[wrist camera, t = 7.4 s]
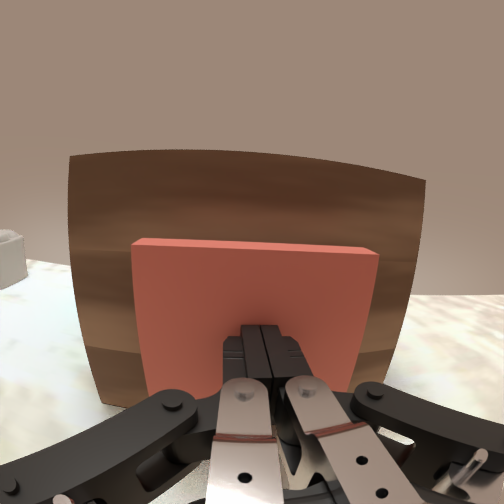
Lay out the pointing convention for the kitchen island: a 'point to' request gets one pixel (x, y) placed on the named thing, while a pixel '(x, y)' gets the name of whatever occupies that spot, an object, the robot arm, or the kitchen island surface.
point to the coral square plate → (247, 305)
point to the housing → (230, 237)
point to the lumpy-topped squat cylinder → (11, 258)
